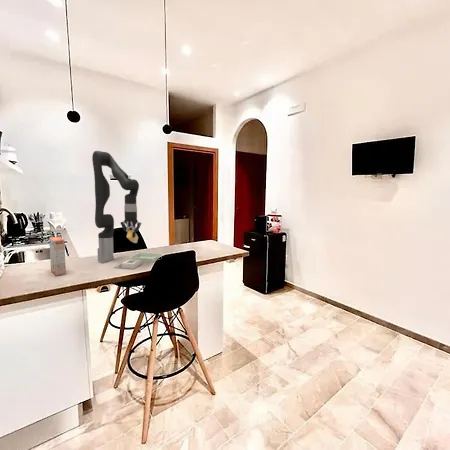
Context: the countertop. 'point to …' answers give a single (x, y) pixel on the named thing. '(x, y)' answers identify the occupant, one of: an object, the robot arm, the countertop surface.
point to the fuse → (130, 236)
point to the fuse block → (129, 264)
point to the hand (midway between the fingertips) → (131, 237)
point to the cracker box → (57, 255)
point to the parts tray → (145, 257)
